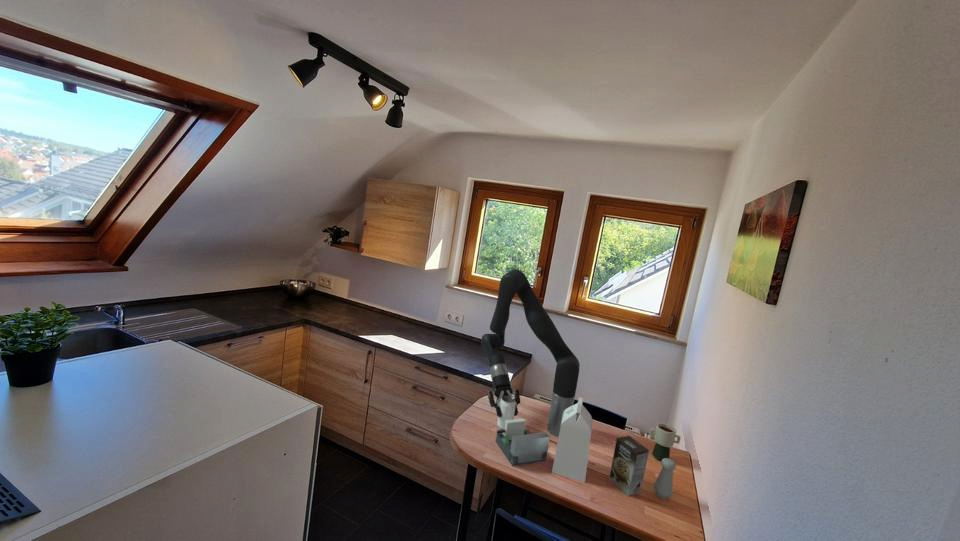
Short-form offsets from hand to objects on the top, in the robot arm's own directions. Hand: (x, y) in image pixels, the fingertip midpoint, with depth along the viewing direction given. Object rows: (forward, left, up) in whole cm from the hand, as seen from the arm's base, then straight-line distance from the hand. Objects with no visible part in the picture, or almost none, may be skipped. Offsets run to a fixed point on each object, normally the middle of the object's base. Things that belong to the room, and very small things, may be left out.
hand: (508, 416), depth 159 cm
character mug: (-55, +28, -7) cm, 62 cm away
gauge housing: (0, +13, -7) cm, 15 cm away
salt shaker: (-38, +45, -7) cm, 60 cm away
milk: (-14, +25, -7) cm, 30 cm away
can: (0, -2, -6) cm, 6 cm away
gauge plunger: (+2, +6, -6) cm, 9 cm away
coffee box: (-28, +38, -7) cm, 48 cm away
